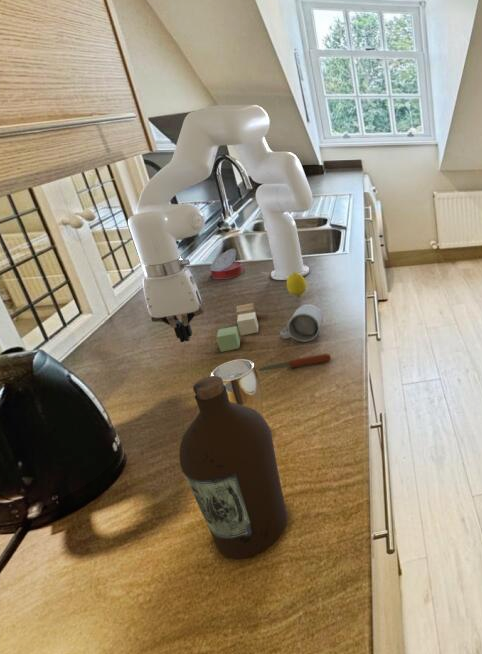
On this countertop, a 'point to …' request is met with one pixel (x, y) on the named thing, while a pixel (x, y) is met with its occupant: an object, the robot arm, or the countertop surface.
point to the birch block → (245, 309)
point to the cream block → (247, 323)
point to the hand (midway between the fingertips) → (185, 339)
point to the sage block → (228, 338)
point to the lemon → (296, 284)
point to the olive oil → (233, 472)
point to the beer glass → (241, 383)
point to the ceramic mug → (304, 324)
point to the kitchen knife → (300, 362)
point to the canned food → (226, 266)
